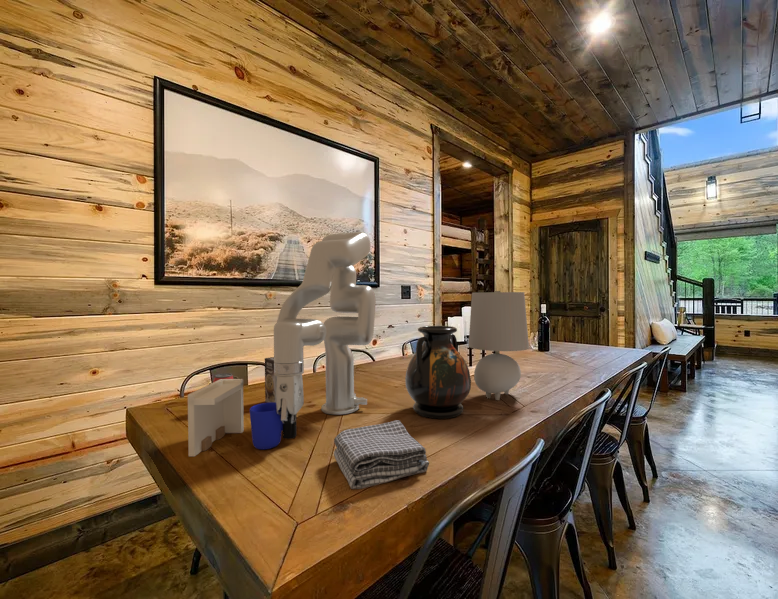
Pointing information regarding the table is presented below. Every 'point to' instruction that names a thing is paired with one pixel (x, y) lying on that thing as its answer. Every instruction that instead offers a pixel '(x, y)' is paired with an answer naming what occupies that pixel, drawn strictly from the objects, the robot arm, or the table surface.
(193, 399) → the shelf
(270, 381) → the coffee box
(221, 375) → the beer can
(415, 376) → the amphora vase
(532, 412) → the table surface
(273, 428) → the mug
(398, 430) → the towel
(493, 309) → the table lamp
